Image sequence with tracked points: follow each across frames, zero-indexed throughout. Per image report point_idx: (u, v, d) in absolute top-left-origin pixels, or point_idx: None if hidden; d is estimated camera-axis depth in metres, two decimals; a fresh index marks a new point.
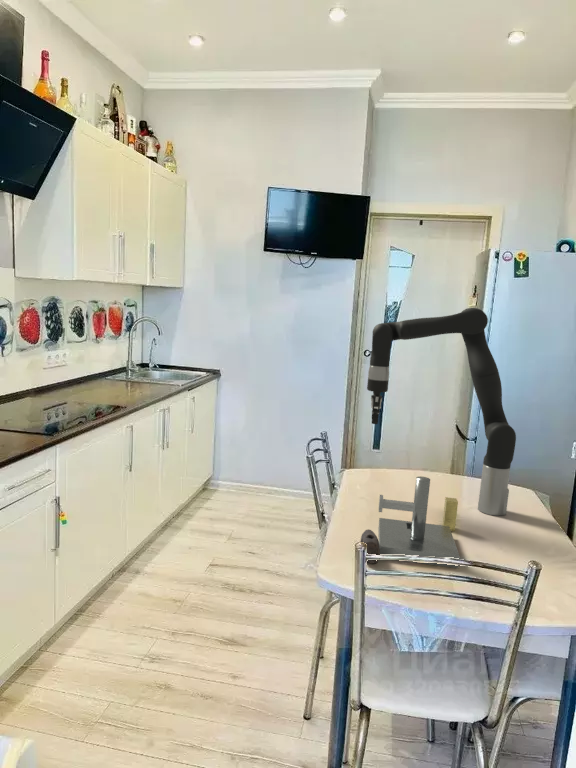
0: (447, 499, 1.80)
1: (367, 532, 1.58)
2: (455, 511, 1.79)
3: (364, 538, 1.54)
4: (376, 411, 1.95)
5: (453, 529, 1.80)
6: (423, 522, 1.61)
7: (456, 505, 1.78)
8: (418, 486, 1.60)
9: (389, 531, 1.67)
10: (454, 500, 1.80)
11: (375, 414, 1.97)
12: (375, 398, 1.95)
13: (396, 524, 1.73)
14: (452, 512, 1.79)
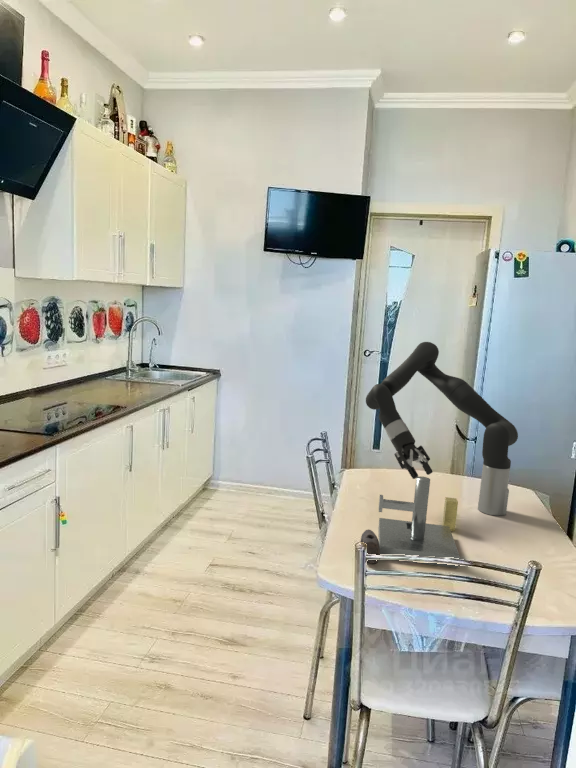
0: (447, 499, 1.80)
1: (367, 532, 1.58)
2: (455, 511, 1.79)
3: (364, 538, 1.54)
4: None
5: (453, 529, 1.80)
6: (423, 522, 1.61)
7: (456, 505, 1.78)
8: (418, 486, 1.60)
9: (389, 531, 1.67)
10: (454, 500, 1.80)
11: None
12: None
13: (396, 524, 1.73)
14: (452, 512, 1.79)
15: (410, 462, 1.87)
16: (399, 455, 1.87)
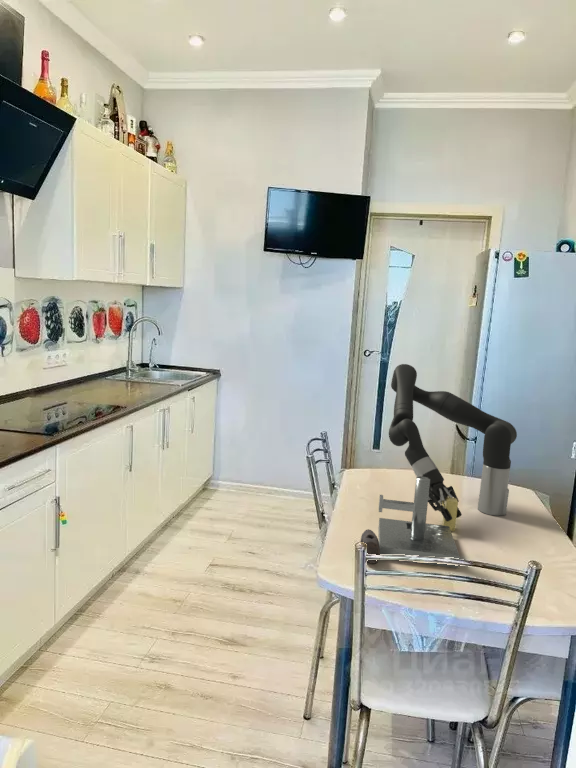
0: (447, 499, 1.80)
1: (367, 532, 1.58)
2: (455, 511, 1.79)
3: (364, 538, 1.54)
4: None
5: (453, 529, 1.80)
6: (423, 522, 1.61)
7: (456, 505, 1.78)
8: (418, 486, 1.60)
9: (389, 531, 1.67)
10: (454, 500, 1.80)
11: None
12: None
13: (396, 524, 1.73)
14: (452, 512, 1.79)
15: (443, 504, 1.79)
16: (430, 498, 1.79)
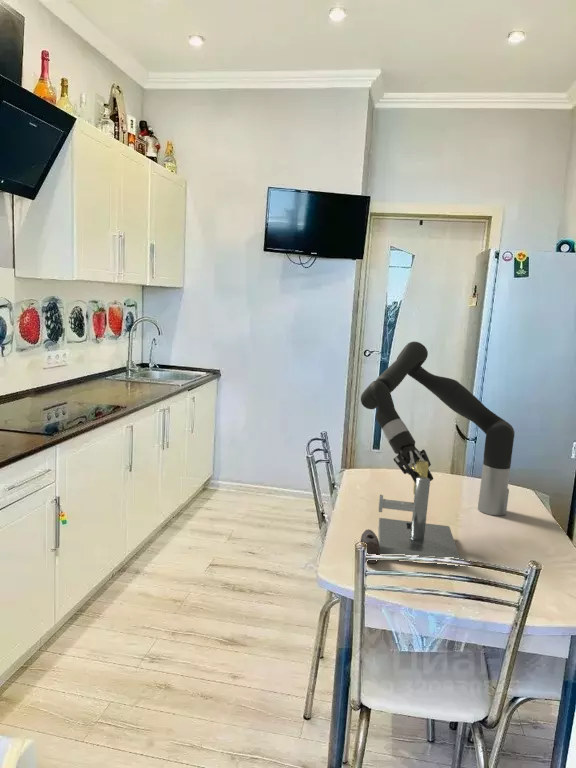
0: (417, 462, 1.72)
1: (367, 532, 1.58)
2: (425, 474, 1.70)
3: (364, 538, 1.54)
4: None
5: None
6: (423, 522, 1.61)
7: (426, 468, 1.70)
8: (418, 486, 1.60)
9: (389, 531, 1.67)
10: (425, 463, 1.71)
11: None
12: None
13: (396, 524, 1.73)
14: (422, 475, 1.70)
15: (412, 466, 1.71)
16: (399, 460, 1.70)
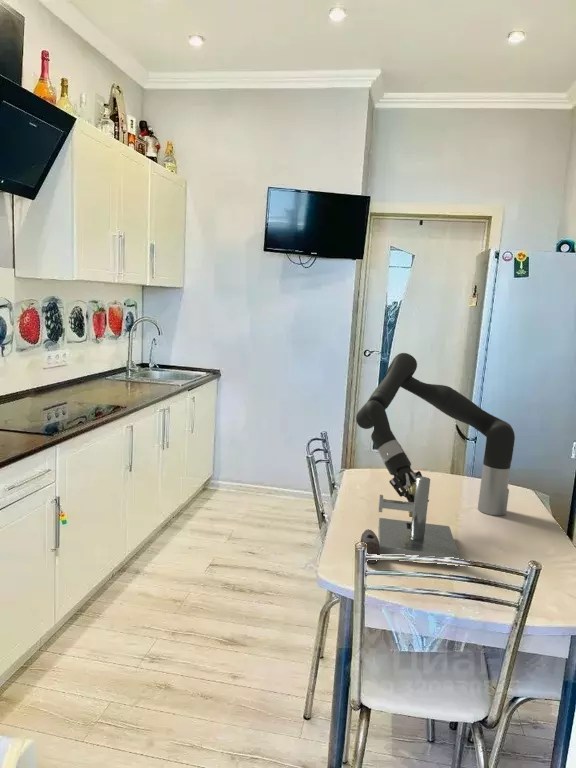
0: (413, 484, 1.70)
1: (367, 532, 1.58)
2: None
3: (364, 538, 1.54)
4: None
5: None
6: (423, 522, 1.61)
7: None
8: (418, 486, 1.60)
9: (389, 531, 1.67)
10: None
11: None
12: None
13: (396, 524, 1.73)
14: None
15: (408, 489, 1.69)
16: (395, 483, 1.69)
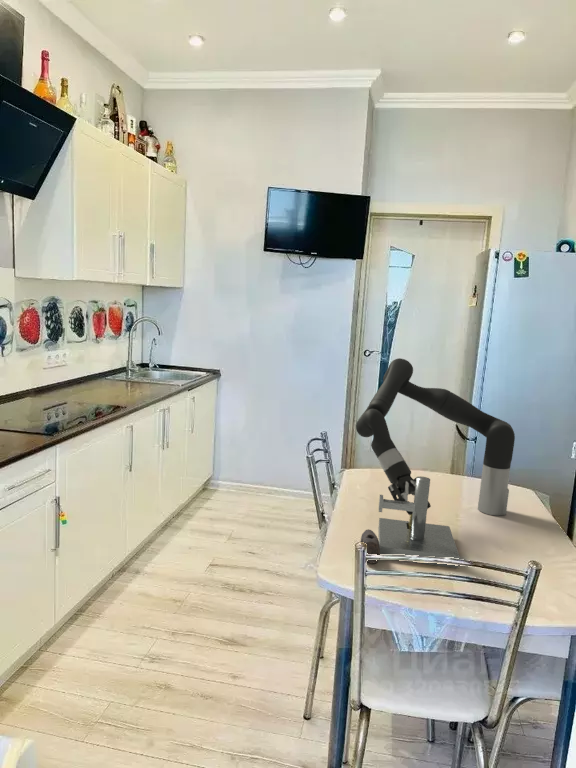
0: None
1: (367, 532, 1.58)
2: None
3: (364, 538, 1.54)
4: None
5: None
6: (423, 522, 1.61)
7: None
8: (418, 486, 1.60)
9: (389, 531, 1.67)
10: None
11: None
12: None
13: (396, 524, 1.73)
14: None
15: (405, 496, 1.69)
16: (393, 488, 1.69)
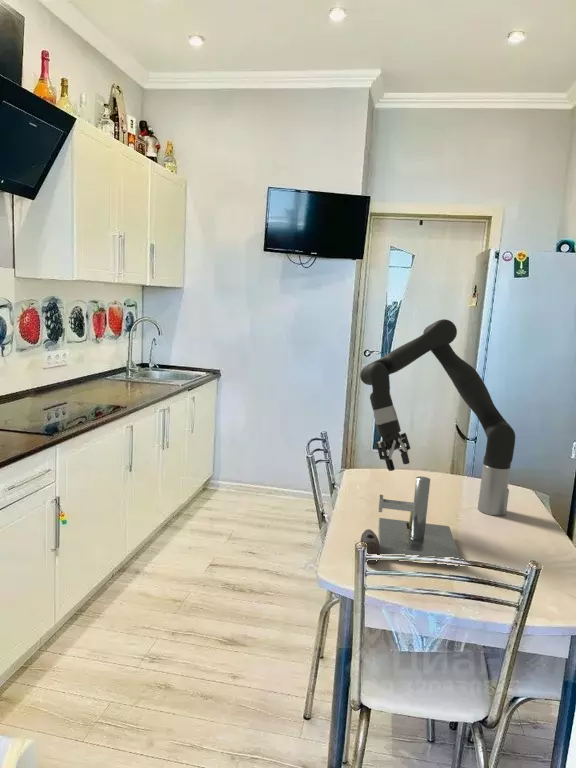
0: None
1: (367, 532, 1.58)
2: None
3: (364, 538, 1.54)
4: None
5: None
6: (423, 522, 1.61)
7: None
8: (418, 486, 1.60)
9: (389, 531, 1.67)
10: None
11: None
12: None
13: (396, 524, 1.73)
14: None
15: (390, 454, 1.82)
16: (381, 446, 1.80)
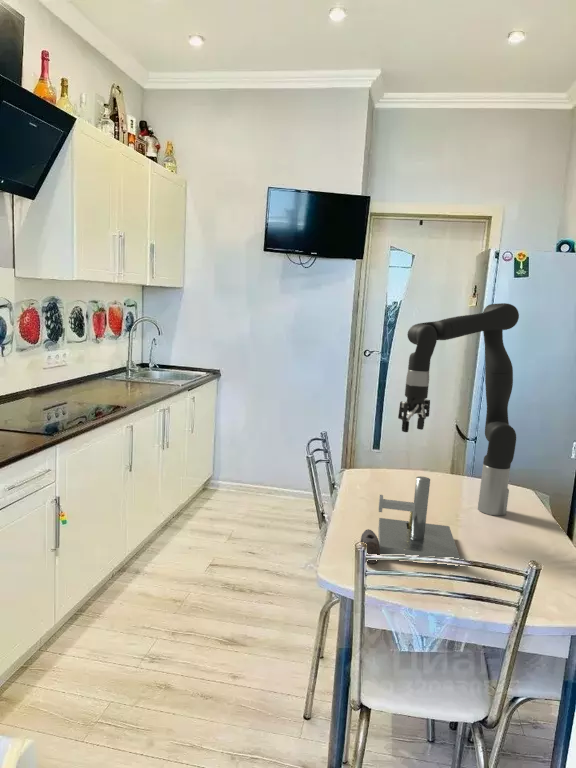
0: None
1: (367, 532, 1.58)
2: None
3: (364, 538, 1.54)
4: None
5: None
6: (423, 522, 1.61)
7: None
8: (418, 486, 1.60)
9: (389, 531, 1.67)
10: None
11: None
12: None
13: (396, 524, 1.73)
14: None
15: (409, 417, 1.83)
16: (404, 407, 1.81)
